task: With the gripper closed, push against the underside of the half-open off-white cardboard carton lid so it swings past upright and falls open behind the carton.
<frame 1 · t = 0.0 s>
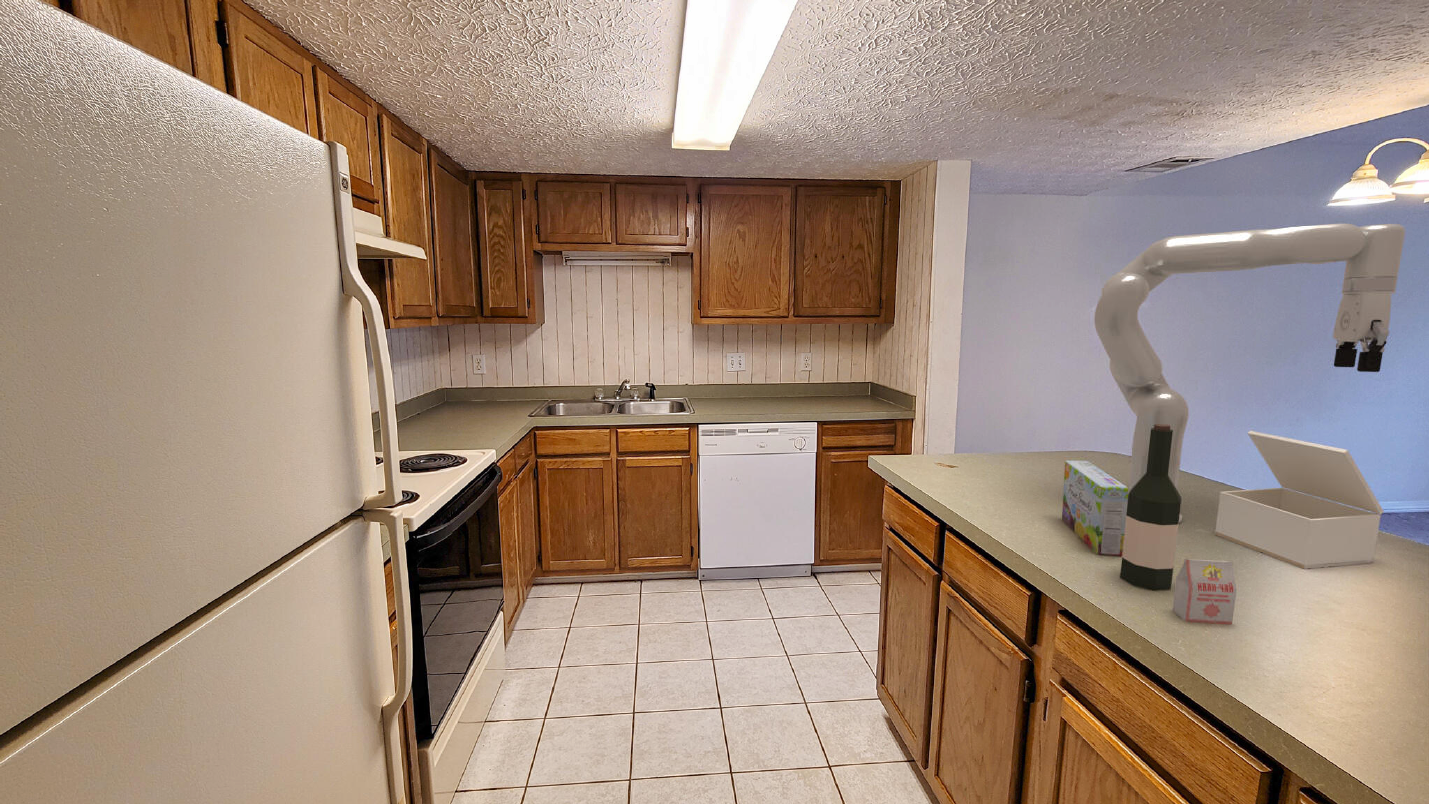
hand: (1355, 369, 125), 37 cm above the worktop, tool pointing down, fingers open, 9 cm apart
carton lid: (1311, 470, 123), point 17 cm above the worktop, hinge at 50.0°
carton: (1288, 547, 125), on the worktop
wine bottle: (1145, 581, 112), on the worktop
snack box: (1089, 537, 133), on the worktop
white and red packet: (1201, 618, 99), on the worktop
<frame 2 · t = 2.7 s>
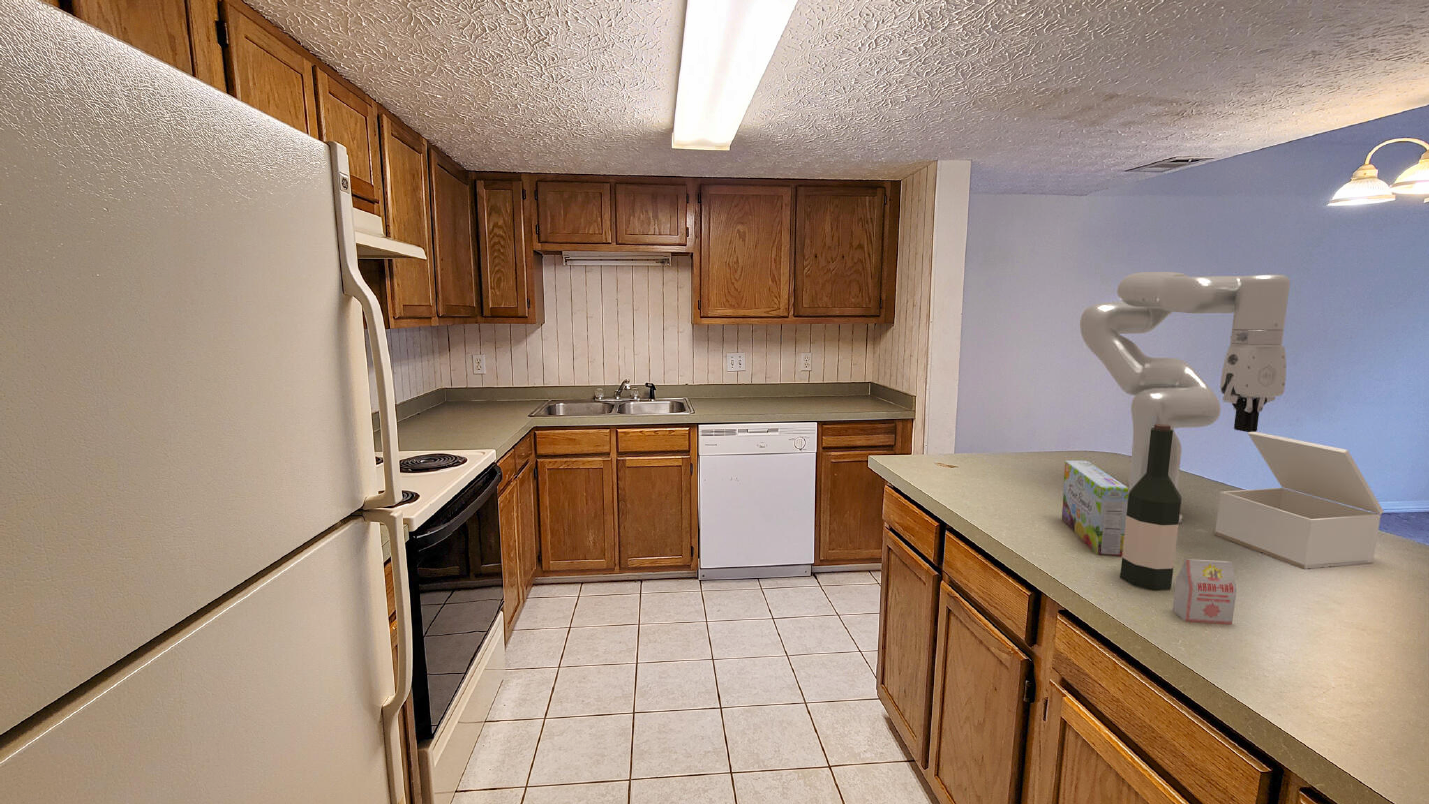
hand: (1245, 430, 119), 26 cm above the worktop, tool pointing down, fingers closed
nothing on the worktop moved.
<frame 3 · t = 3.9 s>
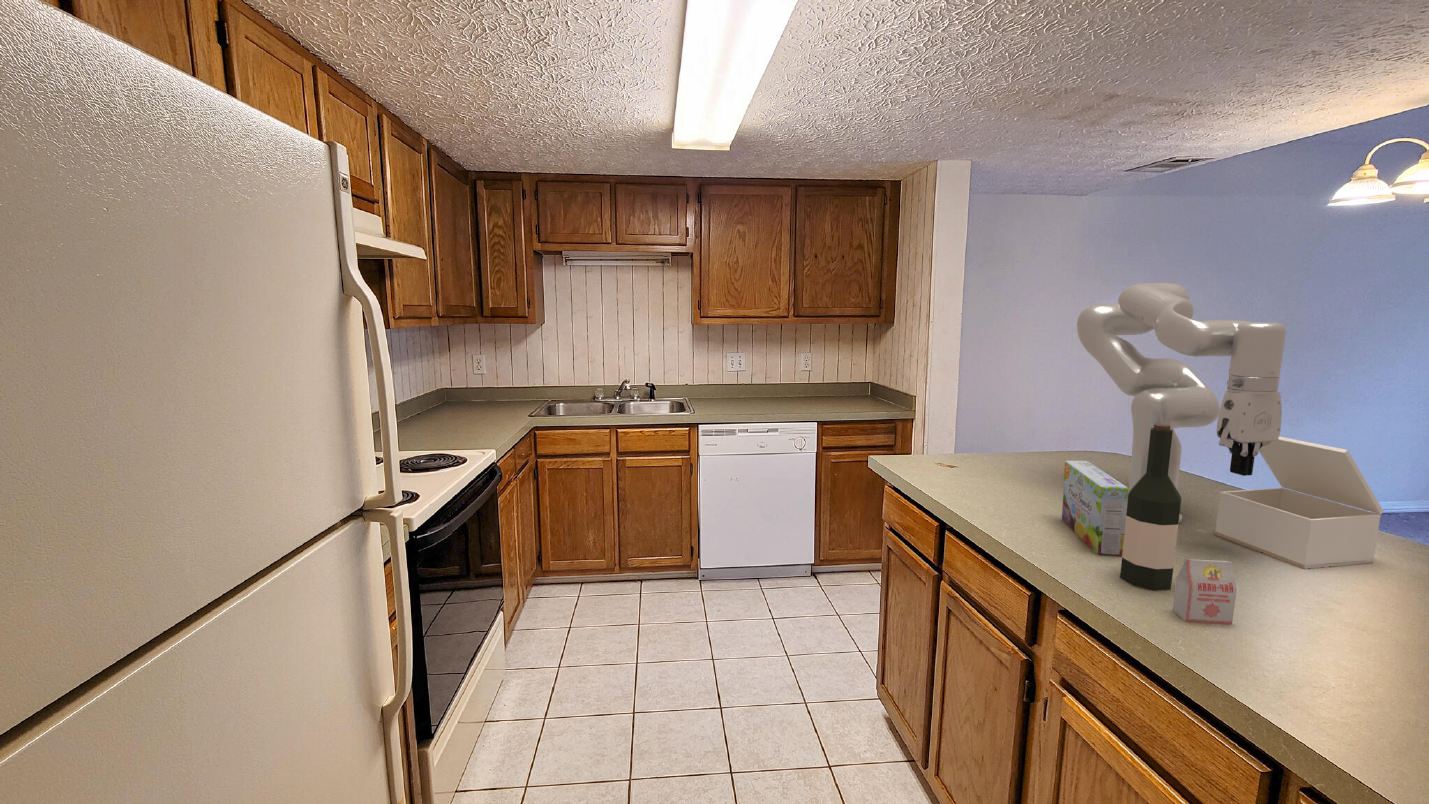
hand: (1240, 473, 121), 17 cm above the worktop, tool pointing down, fingers closed
nothing on the worktop moved.
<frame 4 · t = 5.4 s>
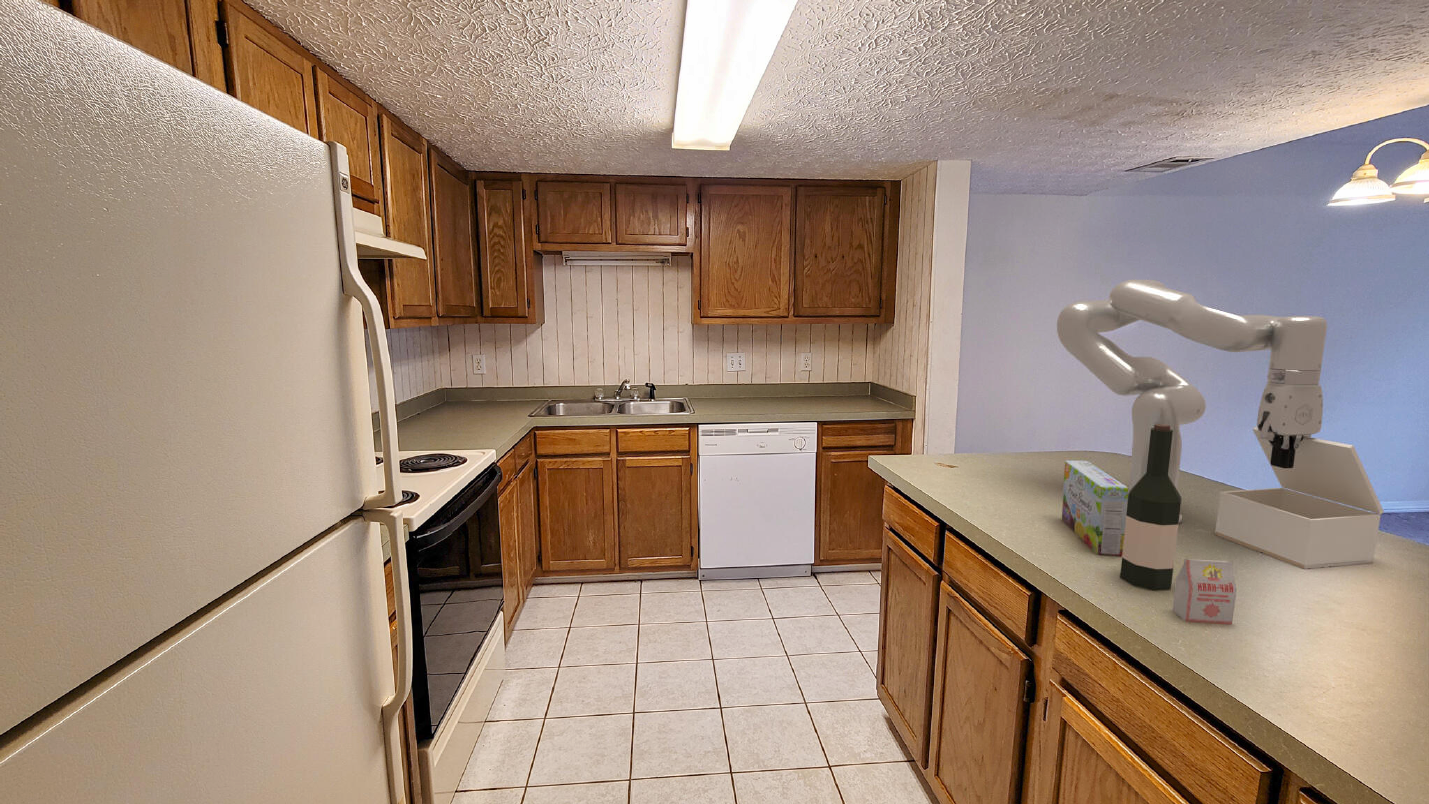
hand: (1281, 466, 122), 18 cm above the worktop, tool pointing down, fingers closed
carton lid: (1314, 468, 123), point 17 cm above the worktop, hinge at 54.8°, touching gripper
everything else where it was.
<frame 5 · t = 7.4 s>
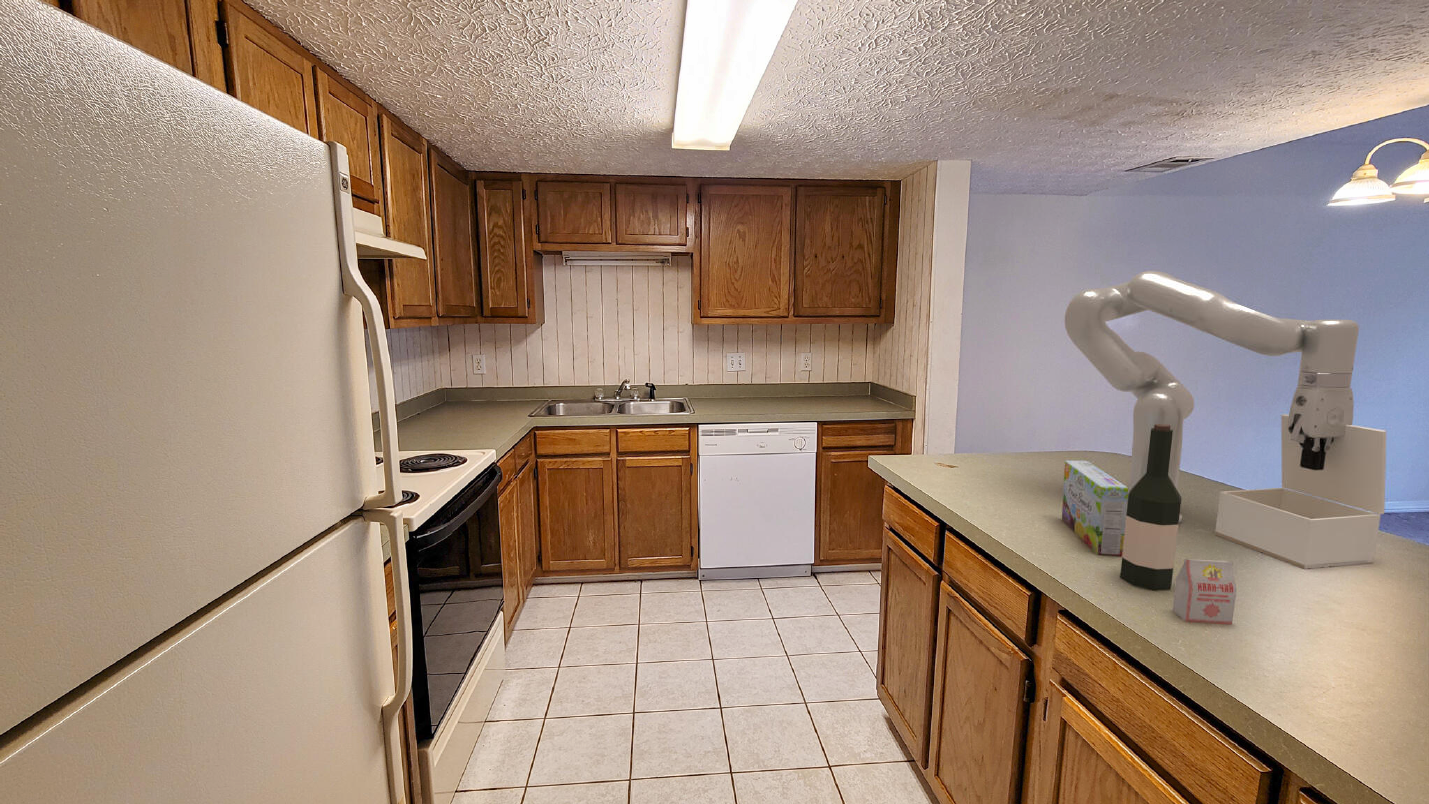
hand: (1311, 468, 123), 17 cm above the worktop, tool pointing down, fingers closed
carton lid: (1329, 461, 123), point 19 cm above the worktop, hinge at 80.3°, touching gripper
everything else where it was.
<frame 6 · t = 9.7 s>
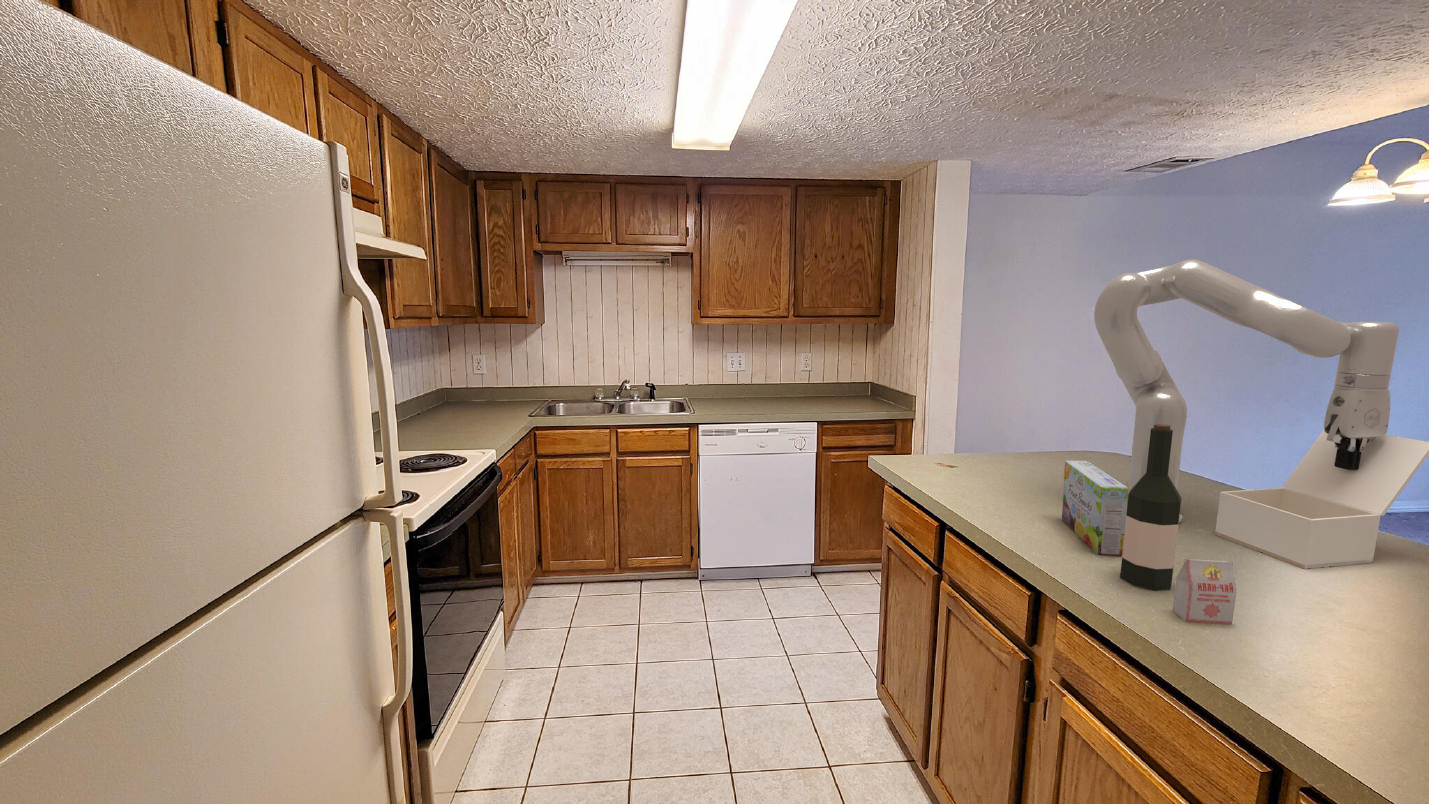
hand: (1346, 468, 125), 17 cm above the worktop, tool pointing down, fingers closed
carton lid: (1353, 467, 125), point 17 cm above the worktop, hinge at 124.6°, touching gripper
everything else where it was.
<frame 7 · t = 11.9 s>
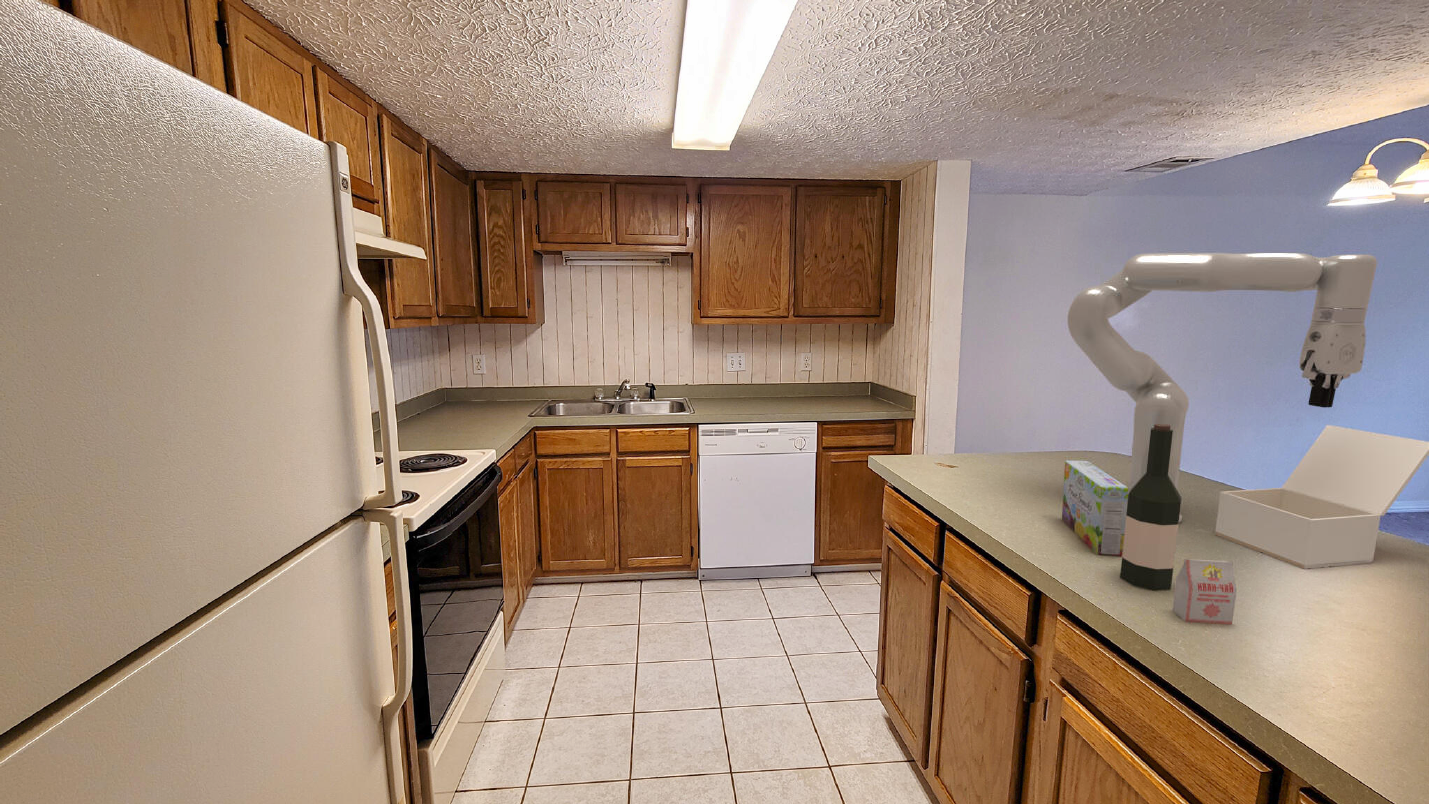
hand: (1319, 406, 123), 30 cm above the worktop, tool pointing down, fingers closed
carton lid: (1353, 467, 125), point 17 cm above the worktop, hinge at 124.6°
everything else where it was.
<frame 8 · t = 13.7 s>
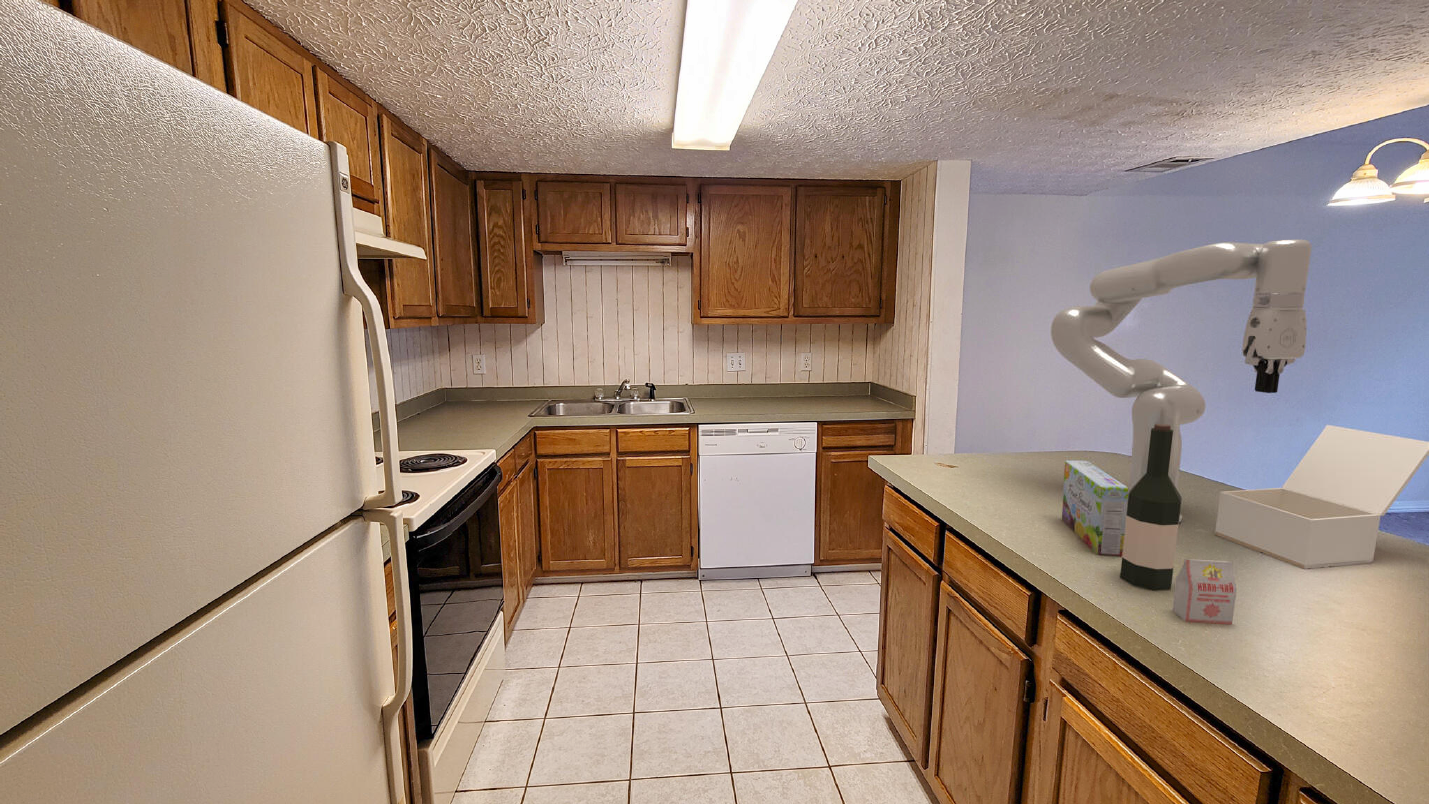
hand: (1265, 391, 123), 33 cm above the worktop, tool pointing down, fingers closed
nothing on the worktop moved.
at the end: carton lid at +125° (first picture: +50°) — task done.
